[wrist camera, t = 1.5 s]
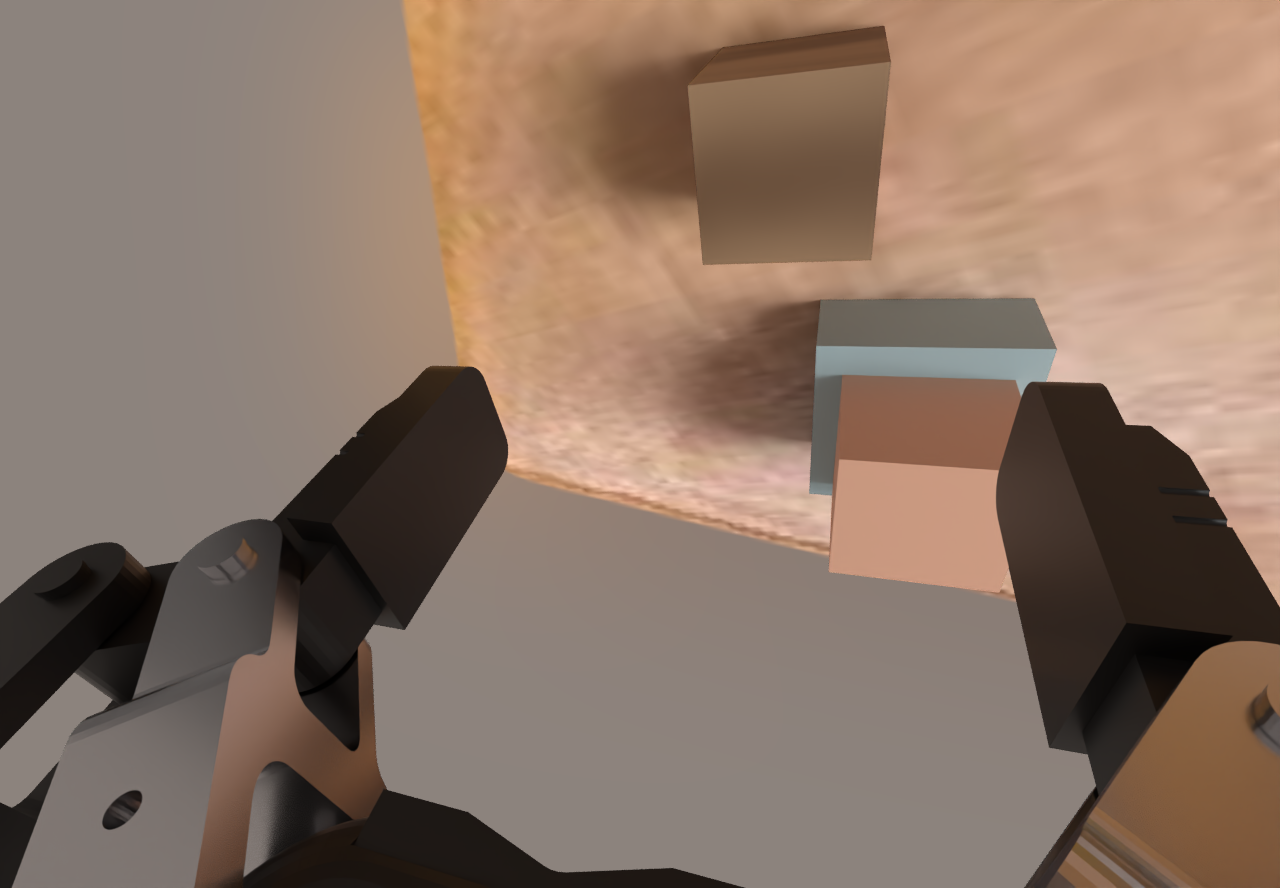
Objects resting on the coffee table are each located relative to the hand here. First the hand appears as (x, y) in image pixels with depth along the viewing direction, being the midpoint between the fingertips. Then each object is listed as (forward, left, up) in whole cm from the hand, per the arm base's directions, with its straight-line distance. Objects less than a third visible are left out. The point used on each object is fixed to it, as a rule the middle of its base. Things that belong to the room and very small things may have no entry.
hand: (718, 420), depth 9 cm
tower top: (+11, +5, -14) cm, 18 cm away
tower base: (+11, +5, -18) cm, 21 cm away
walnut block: (0, 0, -17) cm, 17 cm away
